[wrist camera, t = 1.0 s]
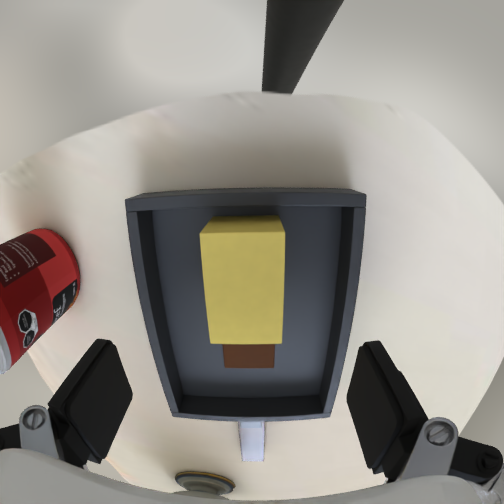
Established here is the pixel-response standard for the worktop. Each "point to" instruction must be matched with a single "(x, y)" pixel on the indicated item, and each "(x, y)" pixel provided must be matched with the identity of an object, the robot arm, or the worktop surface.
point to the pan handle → (252, 440)
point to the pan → (294, 310)
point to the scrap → (249, 355)
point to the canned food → (33, 290)
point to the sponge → (244, 278)
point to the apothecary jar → (204, 485)
